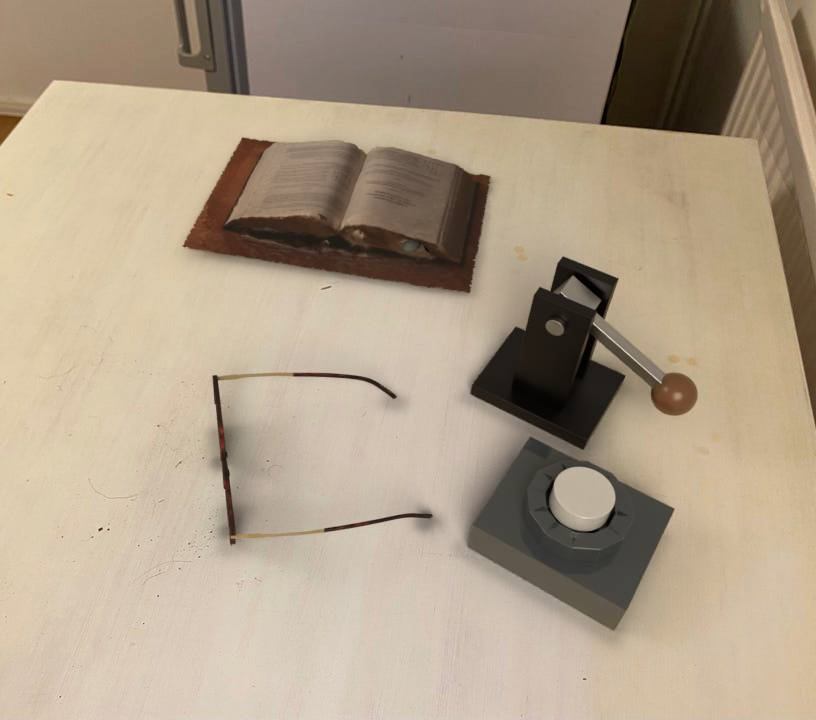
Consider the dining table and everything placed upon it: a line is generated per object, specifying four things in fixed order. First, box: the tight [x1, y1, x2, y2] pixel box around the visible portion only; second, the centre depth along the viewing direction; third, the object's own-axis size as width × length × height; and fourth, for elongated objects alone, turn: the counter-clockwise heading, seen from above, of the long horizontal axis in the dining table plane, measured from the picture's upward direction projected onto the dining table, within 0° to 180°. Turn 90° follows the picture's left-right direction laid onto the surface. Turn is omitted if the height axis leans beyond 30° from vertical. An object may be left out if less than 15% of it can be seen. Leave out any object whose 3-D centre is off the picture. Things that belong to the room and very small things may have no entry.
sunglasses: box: [212, 372, 434, 547], centre depth 61 cm, size 14×15×5 cm
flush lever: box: [554, 276, 699, 417], centre depth 60 cm, size 13×3×3 cm, turn 56°
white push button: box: [549, 467, 616, 531], centre depth 54 cm, size 4×4×2 cm
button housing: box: [467, 436, 675, 632], centre depth 56 cm, size 11×9×5 cm
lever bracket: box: [470, 255, 627, 451], centre depth 63 cm, size 10×8×12 cm
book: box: [181, 136, 492, 294], centre depth 82 cm, size 20×28×4 cm
